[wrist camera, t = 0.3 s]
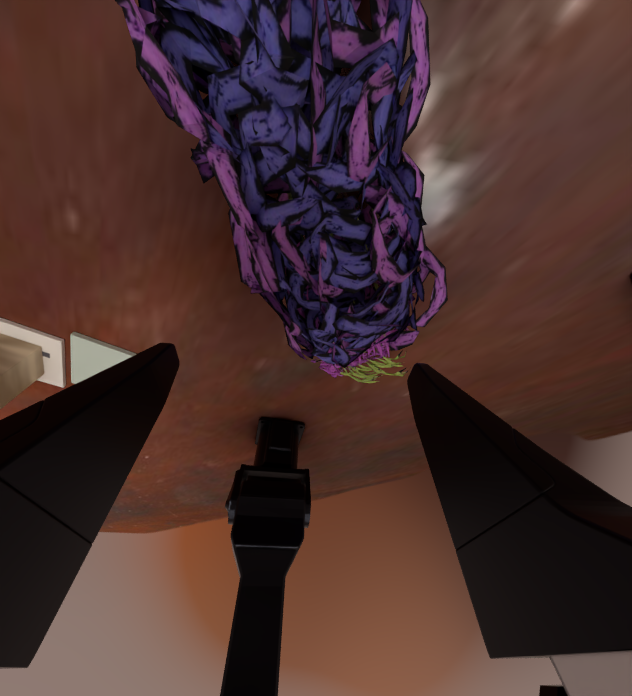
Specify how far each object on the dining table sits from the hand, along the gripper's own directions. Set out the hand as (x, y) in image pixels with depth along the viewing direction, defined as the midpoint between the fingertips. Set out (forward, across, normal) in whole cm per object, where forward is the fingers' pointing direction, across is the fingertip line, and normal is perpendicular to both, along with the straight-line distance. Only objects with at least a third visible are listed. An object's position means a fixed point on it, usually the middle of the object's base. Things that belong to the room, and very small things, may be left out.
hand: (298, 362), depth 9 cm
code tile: (+14, +30, +14) cm, 36 cm away
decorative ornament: (+14, -2, -2) cm, 15 cm away
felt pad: (+14, +21, +16) cm, 30 cm away
